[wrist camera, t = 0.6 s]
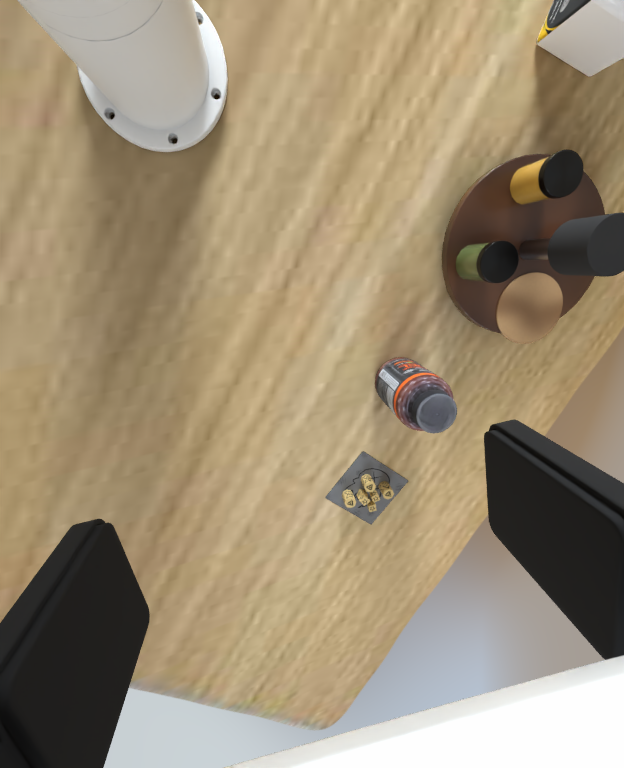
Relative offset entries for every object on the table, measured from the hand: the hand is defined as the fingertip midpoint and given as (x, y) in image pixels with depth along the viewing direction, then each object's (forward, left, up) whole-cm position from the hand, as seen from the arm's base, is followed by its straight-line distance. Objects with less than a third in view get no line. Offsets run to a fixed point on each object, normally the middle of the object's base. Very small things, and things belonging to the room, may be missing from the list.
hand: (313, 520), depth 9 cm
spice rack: (-1, +28, -33) cm, 43 cm away
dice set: (+24, +7, -35) cm, 43 cm away
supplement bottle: (+10, +13, -35) cm, 39 cm away
